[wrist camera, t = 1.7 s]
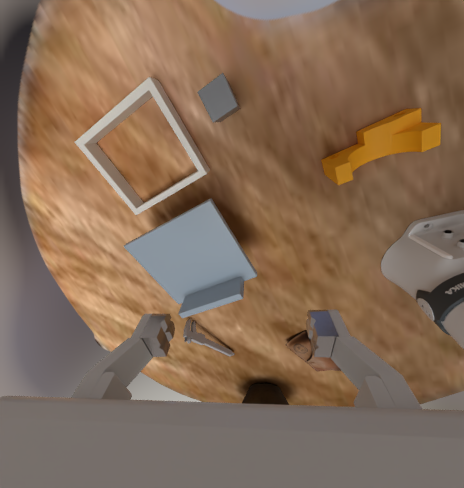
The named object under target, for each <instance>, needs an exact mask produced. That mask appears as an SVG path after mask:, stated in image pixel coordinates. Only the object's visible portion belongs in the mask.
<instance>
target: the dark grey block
mask: <svg viewBox="0 0 464 488" xmlns="http://www.w3.org/2000/svg"><path fill="white" fill-rule="evenodd" d="M198 94H199V96H200V98H201V100H202V102H203V104H204V106H205V108H206V110H207V112H208V114H209V116H210V118H211V120H212V121H213V123H214V122H221V121H223V120H224V119H226V118H227V117H229V116H230V115H232V114H233V113H235V112H236V111H238V110H239V109H240V107H239V104H238V102H237V100H236V98H235V95H234V93H233V91H232V89H231V86H230V84H229V82H228V80H227V79H226V77H225V75H224V74H223V73H222V74H221V75H219V76H218V77H217V78H215V79H214V80H213V81H211V82H210V83H209V84H207V85H206V86H205V87H203V88H202V89H201V90H199V91H198Z"/></svg>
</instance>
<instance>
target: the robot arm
mask: <svg viewBox="0 0 464 488" xmlns="http://www.w3.org/2000/svg"><path fill="white" fill-rule="evenodd" d="M381 270H382V273H383V275H384V276H385V277H386V278H387V279H388V280H390V281H392V282H393V283H395V284H396V285H398V286H399V287H401V288H402V289H403V290H405V291H406V292H407V293H408V294H410V295H411V296H412V297H413V298H414V299H415V300H416V301H417V303H418V304H419V306H420V307H421V309H422V310H423V311H424V312H425V314H426V315H427V316H428V317H429V318H430V319H431V320H432V321H434V322H435V323H436V324H437V325H438V327H439V328H440V329H441V330H442V331H443V332H445V333H446V334H448V335H450V336H452V337H453V338H454V340H455V341H456V342H457V343H458V344H459V345H460V346H461V347H462V348H463V349H464V210H461V211H457V212H452V213H447V214H443V215H438V216H433V217H429V218H424V219H419V220H416V221H414V222H412V223H411V224H410V225H409V227H408V228H407V230H406V231H405V233H404V235H403V236H402V237H401V238H400V239H399V240H397V241H396V242H395V243H394V244H393V245H392V246H391V247H390V248H389V249H388V250H387V252H386V253H385V255H384V257H383V259H382V262H381ZM307 316H308V319H307V320H306V328H307V333H308V337H309V338H310V339H311V348H312V351H313V355H314V357H328V358H331V359H332V360H333V361H334V363H335V364H336V365H337V366H338V367H339V368H340V369H341V370H342V372H343V373H344V374H345V375H346V376H347V377H348V378H349V379H350V381H351V382H352V383H353V384H354V385H355V386H356V387H357V388H358V390H359V392H358V394H357V396H356V399H355V401H354V404H355V407H336V406H306V405H275V404H245V403H214V402H183V401H182V402H181V401H180V402H179V401H152V400H130V399H131V397H132V395H131V393H130V391H129V390H128V389H127V388H126V387H127V386H128V385H129V384H130V382H132V380H133V379H134V378H135V377H136V376H137V375H138V374H139V372H140V371H141V370H142V369H143V368H144V367H145V366H146V365H147V363H148V362H149V361H150V360H151V359H152V358H153V357H163V356H167V353H168V350H169V347H170V343H169V341H170V340H171V339H172V338H173V336H174V331H175V327H174V323H173V322H172V321H171V320H170V319H171V316H170V314H144V315H143V316H142V318H141V320H140V322H139V324H138V325H137V327H136V329H135V331H134V333H133V335H132V336H131V338H128V339H127V340H126V341H124V342H123V343H122V344H121V345H119V346H118V347H117V348H116V349H114V350H113V351H112V352H111V353H110V354H108V355H107V356H106V357H105V358H104V359H102V360H101V361H100V362H98V363H97V364H96V365H95V366H94V367H92V368H91V369H90V370H89V371H88V372H87V374H86V375H85V377H84V378H83V380H82V381H81V383H80V384H79V386H78V388H77V389H76V391H75V392H74V394H73V395H72V397H71V398H59V397H28V396H27V397H25V396H3V397H0V488H464V411H459V410H428V409H422V408H421V406H420V404H419V403H418V401H417V399H416V398H415V396H414V394H413V393H412V391H411V389H410V388H409V386H408V384H407V383H406V381H405V380H404V378H403V376H402V375H401V374H400V373H398V372H397V371H396V370H395V369H393V368H392V367H391V366H390V365H388V364H387V363H386V362H385V361H383V360H382V359H381V358H380V357H378V356H377V355H376V354H375V353H373V352H372V351H371V350H370V349H368V348H367V347H366V346H365V345H363V344H362V343H361V342H360V341H358V340H357V339H356V338H355V337H351V336H350V334H349V332H348V330H347V328H346V326H345V324H344V322H343V320H342V318H341V316H340V314H339V312H338V310H308V312H307Z"/></svg>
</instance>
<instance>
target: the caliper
mask: <svg viewBox="0 0 464 488" xmlns="http://www.w3.org/2000/svg"><path fill="white" fill-rule="evenodd" d="M190 323H191V319H190V320H188V321H187V322H186V325H185V328H184V335H183V337H185V342H186V341H187V342H188V343H191V341H193V342H195V343H198V344H200V345H206V346H208V347H210V348H212V349H214V350H217V351H219V352H221V353H223V354H226V355H228V356H232V355H235V354H234V353H232V350H229V349H227V348H225V347H223V346H221V345H219V344H217V343H215V342H213V341H211V340H208V339H206V338H205V335H204V334H202V333H197V332H196V324H195V321H194V322H192V325H191V331H190Z"/></svg>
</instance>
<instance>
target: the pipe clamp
mask: <svg viewBox="0 0 464 488" xmlns="http://www.w3.org/2000/svg"><path fill="white" fill-rule="evenodd" d="M356 134H357V141H358V144H356V145H353V146H351V147H349V148H347V149H344V150H342V151H340V152H338V153H335V154H333V155H331V156H329V157H326V158H324V159H322V160H321V161H322V165H323V169H324V173H325V175H326V176H327V177H328V178H330V179H331V180H332V181H334V182H335V183H336V184H338V185H340V184H343V183H345V182H348V181H350V180H353V176H352V172H353V171H354V170H355V169H356V168H358V167H359V166H361V165H363V164H365V163H367V162H369V161H372V160H374V159H377V158H380V157H383V156H387V155H391V154H396V153H401V152H424V151H426V150H429V149H431V148H434V147H436V146H439V145H440V138H441V123H421V108H415V109H405V110H402V111H400V112H398V113H396V114H394V115H392V116H389V117H387V118H385V119H383V120H381V121H379V122H376V123H374V124H372V125H370V126H368V127H366V128H363V129H361V130H359V131H357V132H356Z"/></svg>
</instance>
